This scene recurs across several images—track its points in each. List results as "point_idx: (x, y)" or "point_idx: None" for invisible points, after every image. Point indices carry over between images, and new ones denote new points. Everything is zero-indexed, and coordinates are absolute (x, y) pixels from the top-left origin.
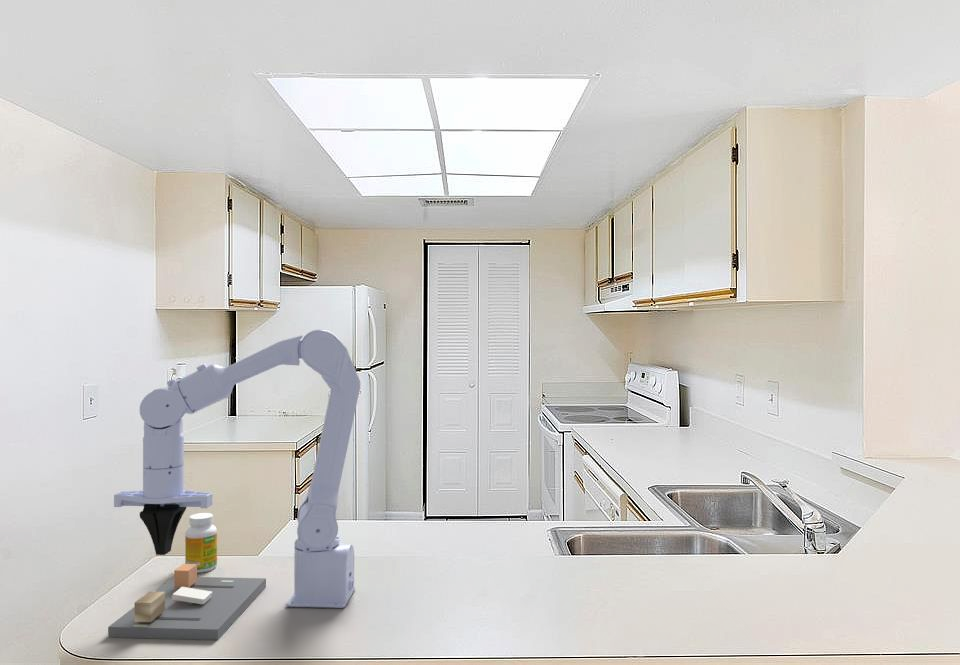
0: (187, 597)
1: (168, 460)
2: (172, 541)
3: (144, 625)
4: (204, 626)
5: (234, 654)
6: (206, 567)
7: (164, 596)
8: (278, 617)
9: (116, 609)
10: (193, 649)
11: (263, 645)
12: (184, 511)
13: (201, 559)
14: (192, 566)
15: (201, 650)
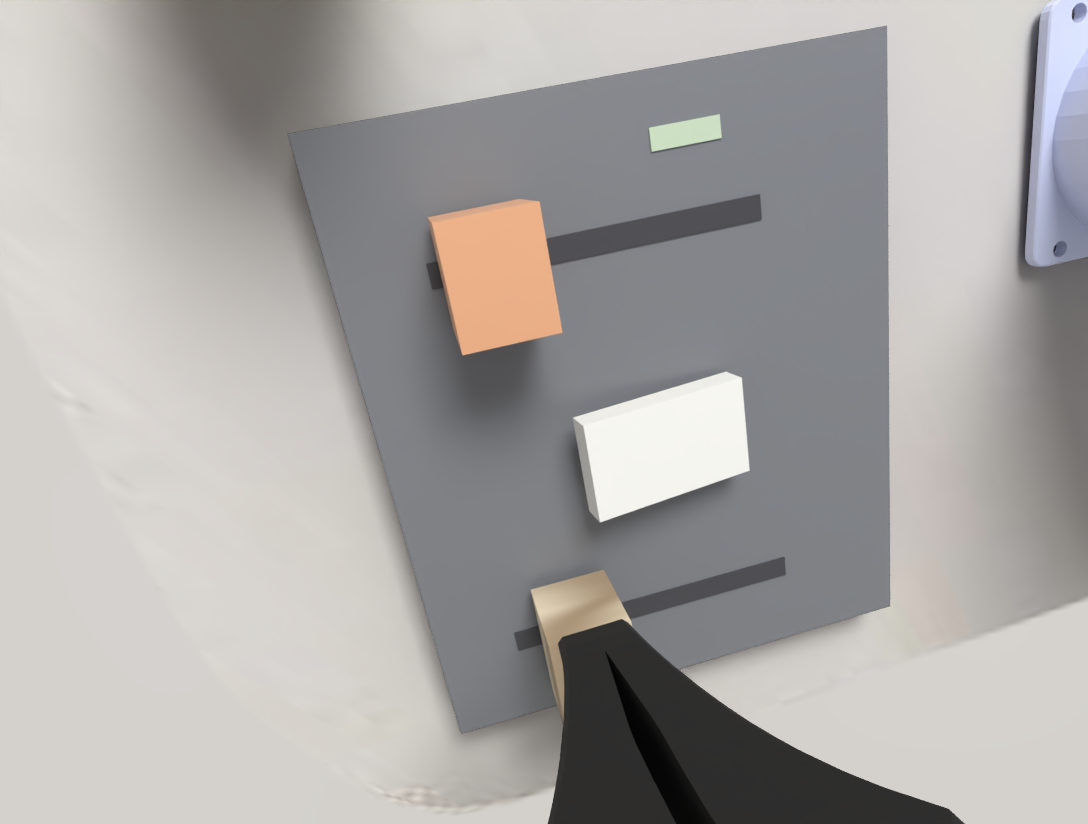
0: (673, 496)
1: None
2: (655, 651)
3: None
4: (830, 603)
5: (953, 635)
6: None
7: (624, 611)
8: (1013, 359)
9: (252, 507)
10: (814, 656)
11: (1021, 561)
12: (913, 802)
13: None
14: (537, 254)
15: (842, 652)
